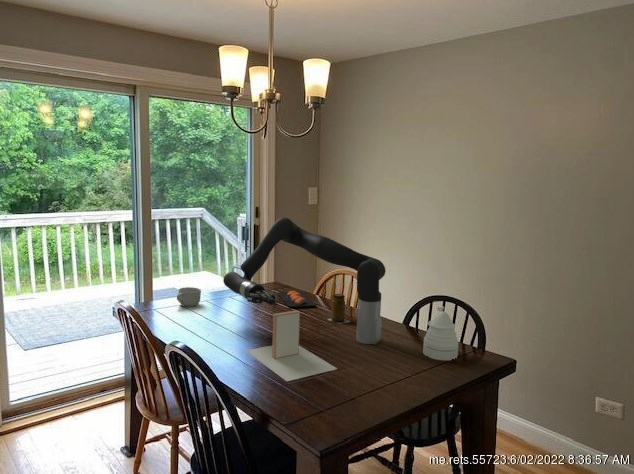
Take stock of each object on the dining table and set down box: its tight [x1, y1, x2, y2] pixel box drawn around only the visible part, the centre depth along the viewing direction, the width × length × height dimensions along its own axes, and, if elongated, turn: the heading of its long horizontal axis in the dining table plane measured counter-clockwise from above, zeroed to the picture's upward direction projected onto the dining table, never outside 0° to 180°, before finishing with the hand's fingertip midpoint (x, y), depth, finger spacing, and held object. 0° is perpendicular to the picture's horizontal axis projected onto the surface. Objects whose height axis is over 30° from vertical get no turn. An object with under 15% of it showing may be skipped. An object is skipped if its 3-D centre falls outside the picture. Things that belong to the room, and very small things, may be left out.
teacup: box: [176, 286, 202, 308], centre depth 234 cm, size 14×11×8 cm
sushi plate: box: [271, 290, 316, 310], centre depth 248 cm, size 29×30×4 cm
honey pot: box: [422, 305, 460, 361], centre depth 182 cm, size 13×13×18 cm
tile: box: [271, 310, 301, 359], centre depth 172 cm, size 2×10×16 cm, turn 124°
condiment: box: [327, 293, 352, 325], centre depth 218 cm, size 7×8×12 cm
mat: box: [245, 344, 338, 385], centre depth 170 cm, size 30×20×1 cm, turn 34°
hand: (272, 302), depth 179 cm, fingers closed
